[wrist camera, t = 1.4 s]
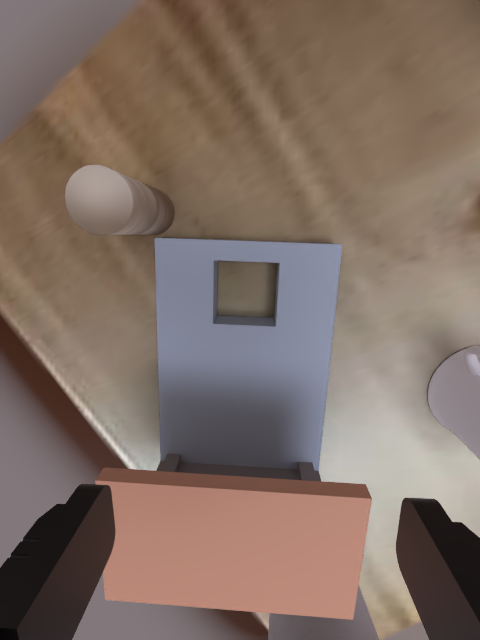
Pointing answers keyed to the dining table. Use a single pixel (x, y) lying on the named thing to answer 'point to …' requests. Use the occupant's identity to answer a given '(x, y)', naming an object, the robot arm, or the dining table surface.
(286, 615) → the coffee cup
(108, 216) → the peg
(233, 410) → the socket board
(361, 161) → the dining table surface
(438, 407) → the mug
